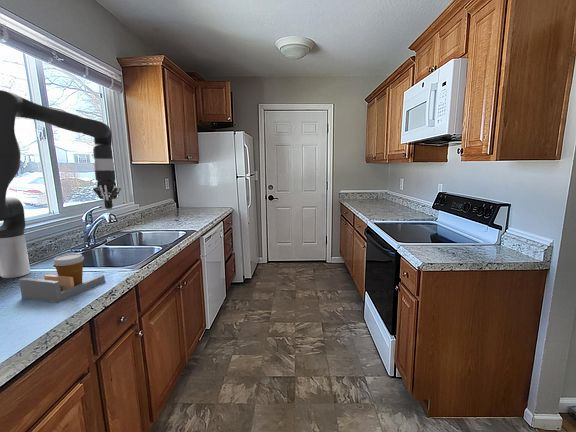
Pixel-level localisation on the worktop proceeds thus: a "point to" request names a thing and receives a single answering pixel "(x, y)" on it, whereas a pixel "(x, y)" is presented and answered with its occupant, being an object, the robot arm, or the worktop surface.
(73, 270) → the disposable coffee cup
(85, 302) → the worktop surface
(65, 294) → the grey shallow tray
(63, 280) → the pusher plate
